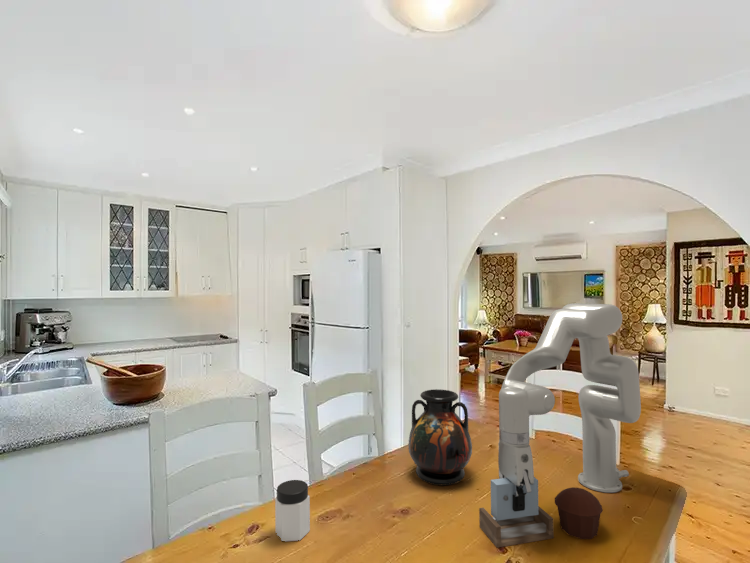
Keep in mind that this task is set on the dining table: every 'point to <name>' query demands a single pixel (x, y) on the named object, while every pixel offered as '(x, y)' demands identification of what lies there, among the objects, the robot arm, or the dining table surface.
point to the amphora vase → (440, 438)
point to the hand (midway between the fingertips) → (514, 505)
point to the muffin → (578, 512)
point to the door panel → (511, 500)
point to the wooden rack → (516, 528)
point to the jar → (292, 510)
